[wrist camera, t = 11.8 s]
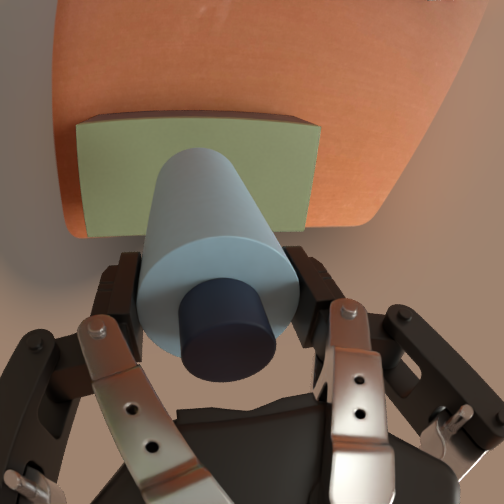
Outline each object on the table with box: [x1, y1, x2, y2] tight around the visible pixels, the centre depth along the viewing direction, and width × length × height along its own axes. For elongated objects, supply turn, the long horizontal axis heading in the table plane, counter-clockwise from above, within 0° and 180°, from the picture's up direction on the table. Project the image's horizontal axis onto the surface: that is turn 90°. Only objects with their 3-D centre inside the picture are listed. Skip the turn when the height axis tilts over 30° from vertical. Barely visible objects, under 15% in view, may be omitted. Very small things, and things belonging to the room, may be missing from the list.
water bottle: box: [136, 148, 300, 382], centre depth 14 cm, size 6×6×14 cm
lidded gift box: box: [76, 110, 321, 237], centre depth 33 cm, size 24×12×8 cm, turn 85°
